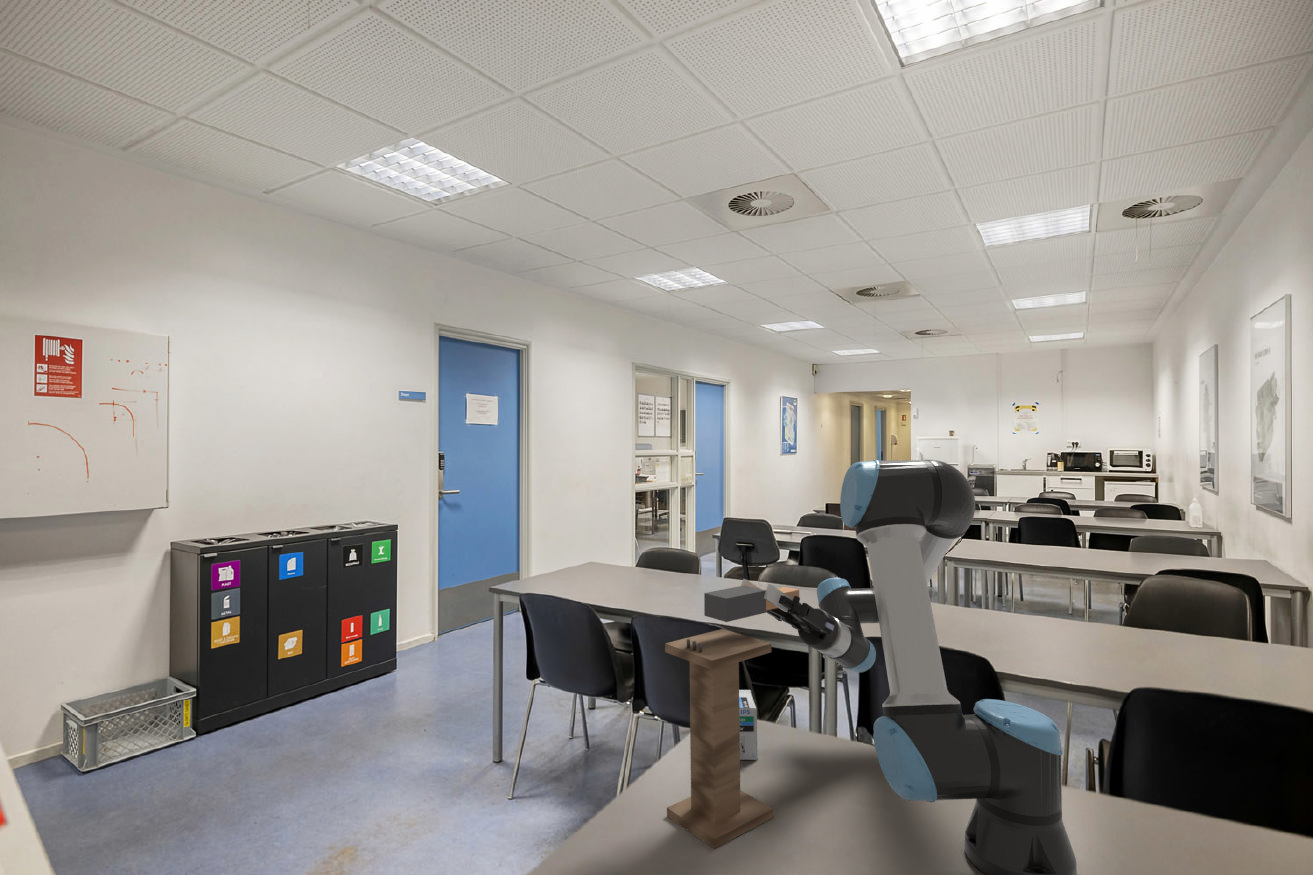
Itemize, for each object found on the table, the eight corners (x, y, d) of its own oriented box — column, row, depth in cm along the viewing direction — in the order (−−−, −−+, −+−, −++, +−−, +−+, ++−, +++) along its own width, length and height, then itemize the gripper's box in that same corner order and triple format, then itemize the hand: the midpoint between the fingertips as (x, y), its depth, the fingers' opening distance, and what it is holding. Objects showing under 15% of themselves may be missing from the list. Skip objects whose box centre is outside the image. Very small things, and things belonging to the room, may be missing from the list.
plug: (803, 603, 126) (803, 582, 126) (726, 622, 114) (726, 598, 114) (781, 598, 131) (781, 578, 131) (704, 615, 118) (704, 593, 118)
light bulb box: (758, 760, 136) (757, 707, 136) (725, 761, 136) (724, 707, 136) (752, 737, 146) (751, 688, 146) (721, 737, 146) (720, 688, 147)
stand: (773, 817, 115) (771, 635, 115) (714, 848, 106) (712, 651, 107) (724, 789, 124) (722, 621, 125) (666, 816, 116) (664, 635, 116)
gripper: (857, 661, 126) (787, 618, 114) (781, 639, 140) (712, 598, 128) (868, 624, 128) (801, 577, 116) (793, 606, 143) (726, 562, 130)
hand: (754, 588), depth 122 cm, fingers closed on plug, 5 cm apart
